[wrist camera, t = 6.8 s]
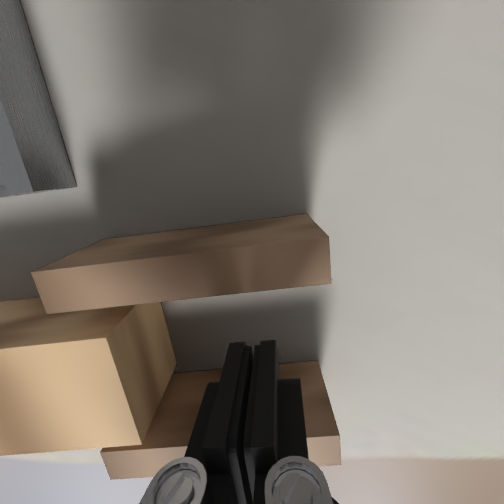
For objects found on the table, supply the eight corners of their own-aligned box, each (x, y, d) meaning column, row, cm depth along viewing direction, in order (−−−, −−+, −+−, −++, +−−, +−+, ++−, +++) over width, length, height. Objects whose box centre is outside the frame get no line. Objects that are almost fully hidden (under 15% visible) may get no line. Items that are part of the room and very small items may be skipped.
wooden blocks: (306, 213, 13) (329, 236, 9) (319, 384, 16) (341, 465, 12) (102, 239, 14) (30, 272, 9) (149, 398, 17) (110, 479, 12)
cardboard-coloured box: (156, 281, 15) (105, 337, 10) (177, 361, 16) (141, 444, 11) (-20, 302, 15) (-147, 364, 11) (15, 377, 17) (-83, 462, 12)
